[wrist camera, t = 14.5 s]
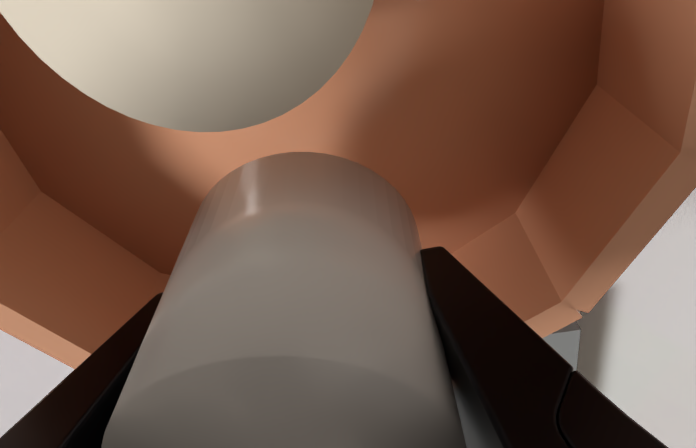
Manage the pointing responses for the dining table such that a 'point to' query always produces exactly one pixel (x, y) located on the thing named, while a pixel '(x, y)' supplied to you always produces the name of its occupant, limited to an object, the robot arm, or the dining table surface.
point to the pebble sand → (192, 54)
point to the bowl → (373, 158)
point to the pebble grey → (293, 321)
